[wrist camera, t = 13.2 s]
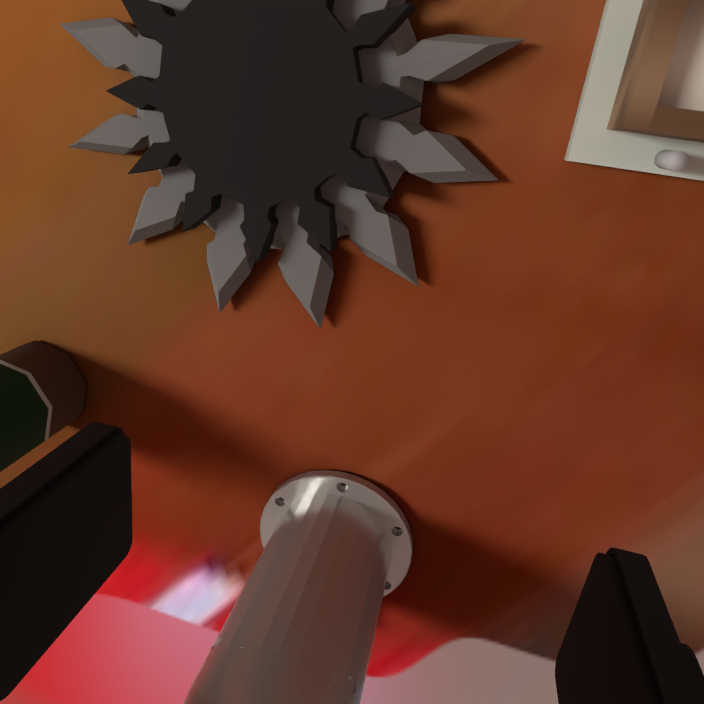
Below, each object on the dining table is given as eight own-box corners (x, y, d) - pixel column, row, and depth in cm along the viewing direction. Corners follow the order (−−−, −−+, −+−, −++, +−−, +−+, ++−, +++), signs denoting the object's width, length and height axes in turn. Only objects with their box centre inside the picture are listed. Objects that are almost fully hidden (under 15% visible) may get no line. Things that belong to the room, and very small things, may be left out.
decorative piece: (113, 363, 41) (-55, -133, 32) (143, 345, 45) (0, -106, 35) (551, 315, 33) (500, -366, 24) (545, 297, 37) (498, -301, 27)
